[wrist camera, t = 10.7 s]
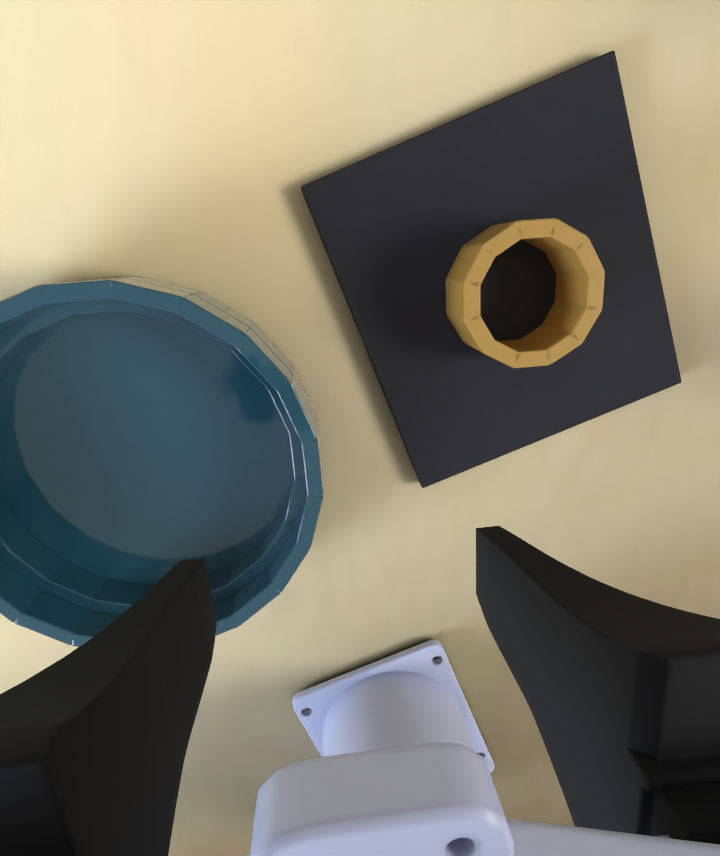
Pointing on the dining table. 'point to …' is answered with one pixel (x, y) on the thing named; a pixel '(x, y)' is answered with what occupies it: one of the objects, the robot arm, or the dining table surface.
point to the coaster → (499, 268)
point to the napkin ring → (573, 291)
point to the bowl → (146, 454)
